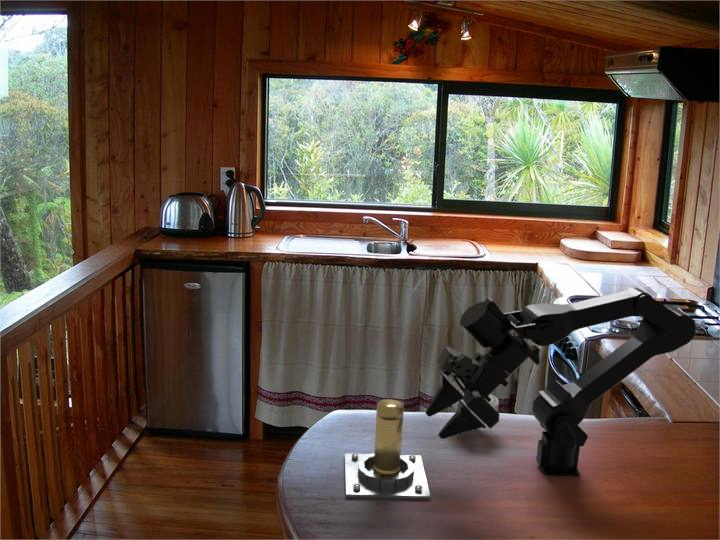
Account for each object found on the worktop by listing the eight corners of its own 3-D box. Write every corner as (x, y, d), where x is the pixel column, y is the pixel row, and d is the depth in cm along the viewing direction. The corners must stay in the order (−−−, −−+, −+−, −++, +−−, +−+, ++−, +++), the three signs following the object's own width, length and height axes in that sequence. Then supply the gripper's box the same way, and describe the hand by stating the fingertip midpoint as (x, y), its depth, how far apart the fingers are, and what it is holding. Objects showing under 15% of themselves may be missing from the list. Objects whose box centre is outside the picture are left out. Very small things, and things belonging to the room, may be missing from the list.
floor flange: (420, 458, 141) (421, 447, 140) (430, 499, 127) (430, 487, 127) (344, 456, 140) (345, 445, 140) (346, 497, 127) (346, 485, 126)
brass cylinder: (393, 465, 137) (397, 398, 133) (403, 478, 132) (408, 409, 129) (369, 469, 135) (372, 401, 132) (379, 482, 131) (383, 412, 128)
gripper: (453, 317, 139) (392, 376, 140) (484, 351, 121) (414, 418, 122) (492, 357, 142) (432, 414, 143) (528, 395, 124) (459, 461, 125)
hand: (433, 425), depth 133 cm, fingers open, 9 cm apart
